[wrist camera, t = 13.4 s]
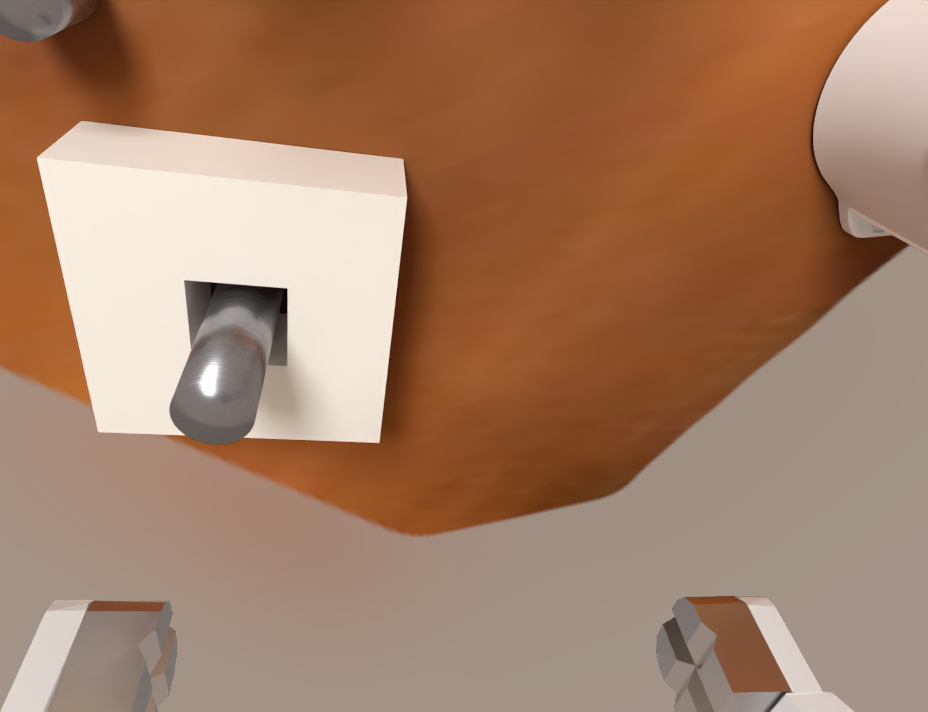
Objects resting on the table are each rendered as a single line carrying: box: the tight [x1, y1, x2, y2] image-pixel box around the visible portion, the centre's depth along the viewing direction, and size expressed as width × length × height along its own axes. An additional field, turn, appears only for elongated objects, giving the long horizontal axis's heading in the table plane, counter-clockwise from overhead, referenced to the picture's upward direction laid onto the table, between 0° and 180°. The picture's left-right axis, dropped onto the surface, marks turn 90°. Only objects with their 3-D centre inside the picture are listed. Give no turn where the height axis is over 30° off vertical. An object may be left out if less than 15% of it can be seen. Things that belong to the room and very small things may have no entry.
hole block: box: [37, 121, 407, 443], centre depth 40 cm, size 18×18×6 cm
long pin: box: [169, 283, 284, 444], centre depth 37 cm, size 4×4×14 cm
